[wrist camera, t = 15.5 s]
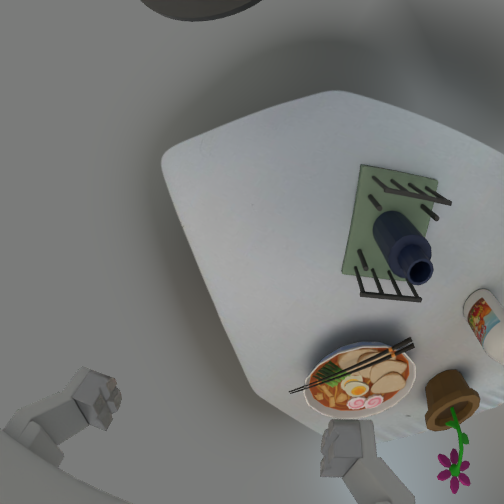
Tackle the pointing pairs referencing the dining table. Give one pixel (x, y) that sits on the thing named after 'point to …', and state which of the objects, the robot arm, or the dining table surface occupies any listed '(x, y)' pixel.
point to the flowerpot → (451, 418)
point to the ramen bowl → (360, 380)
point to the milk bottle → (486, 322)
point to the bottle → (403, 247)
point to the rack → (371, 207)
